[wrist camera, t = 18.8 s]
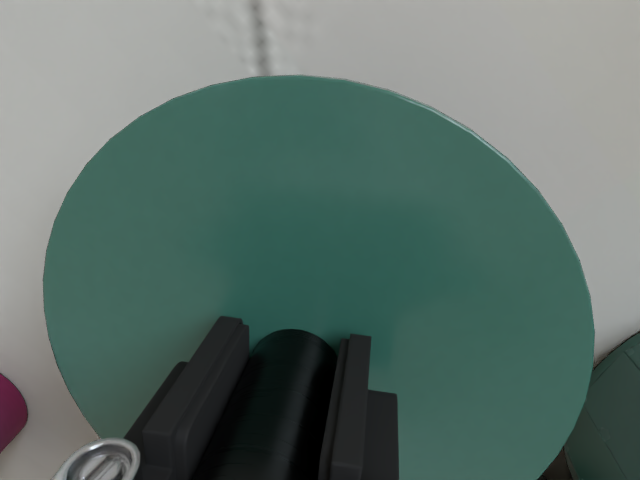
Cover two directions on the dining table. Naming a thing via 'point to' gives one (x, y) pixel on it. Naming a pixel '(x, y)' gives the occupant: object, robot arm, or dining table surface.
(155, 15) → the dining table surface
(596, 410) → the pot
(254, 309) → the pot lid
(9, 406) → the cup
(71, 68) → the dining table surface
